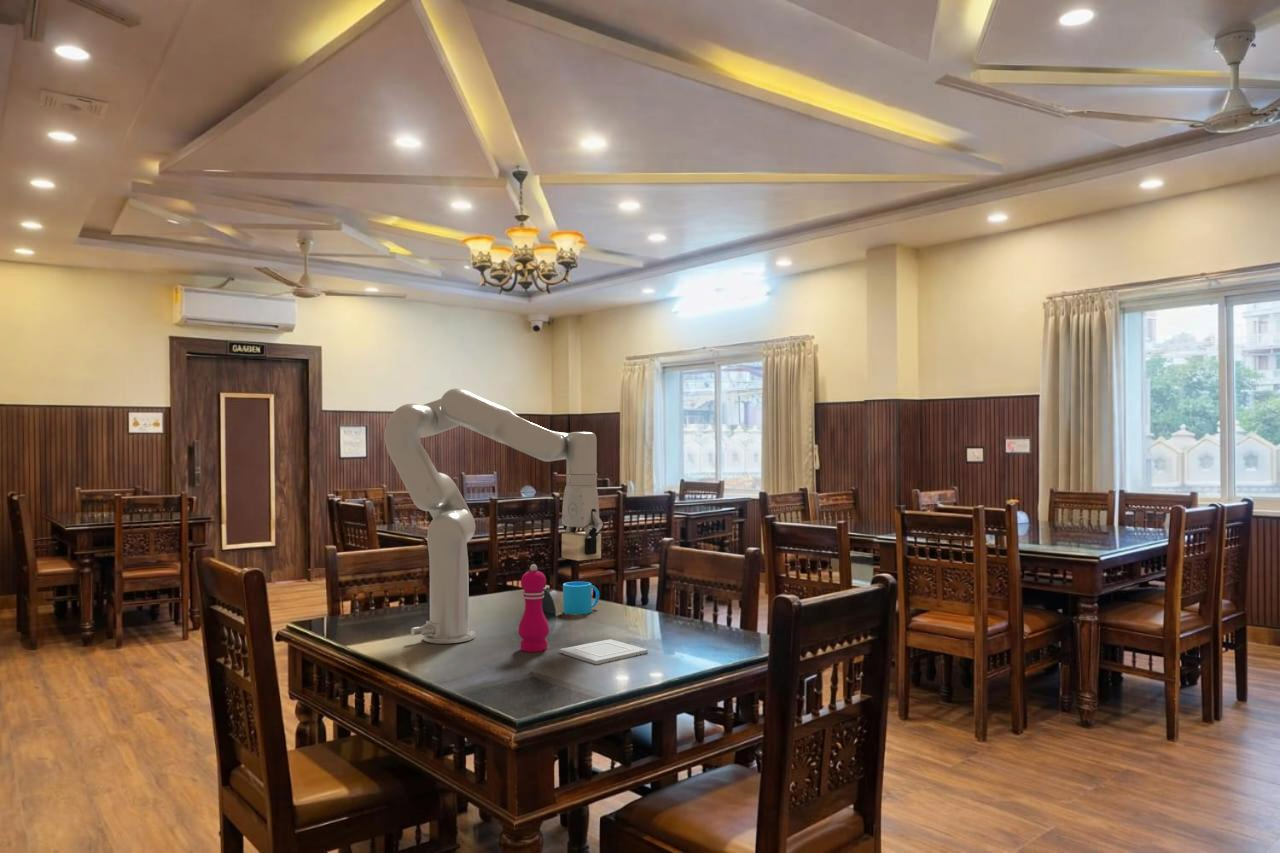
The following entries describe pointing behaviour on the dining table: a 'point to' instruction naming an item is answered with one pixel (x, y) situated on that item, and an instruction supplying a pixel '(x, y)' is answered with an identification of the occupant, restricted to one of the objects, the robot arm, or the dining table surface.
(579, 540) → the maple block
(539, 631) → the pepper mill
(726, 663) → the dining table surface
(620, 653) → the white flat square
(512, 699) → the dining table surface
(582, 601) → the mug
